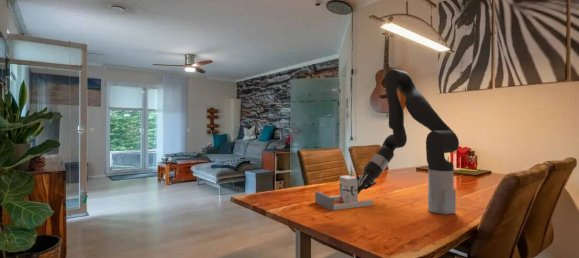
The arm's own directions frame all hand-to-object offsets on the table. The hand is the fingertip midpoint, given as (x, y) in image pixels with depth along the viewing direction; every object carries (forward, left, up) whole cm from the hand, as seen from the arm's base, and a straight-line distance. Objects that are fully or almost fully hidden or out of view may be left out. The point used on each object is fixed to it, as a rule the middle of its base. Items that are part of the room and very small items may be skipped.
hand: (354, 194), depth 137 cm
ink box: (0, +3, -4) cm, 5 cm away
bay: (0, +5, -4) cm, 6 cm away
